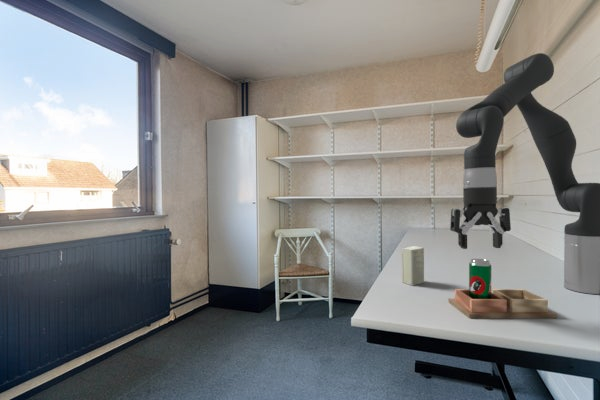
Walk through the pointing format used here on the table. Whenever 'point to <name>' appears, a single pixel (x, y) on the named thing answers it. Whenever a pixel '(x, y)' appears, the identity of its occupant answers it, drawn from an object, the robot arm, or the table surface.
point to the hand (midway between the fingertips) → (480, 248)
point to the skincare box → (413, 265)
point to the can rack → (502, 304)
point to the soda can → (480, 279)
